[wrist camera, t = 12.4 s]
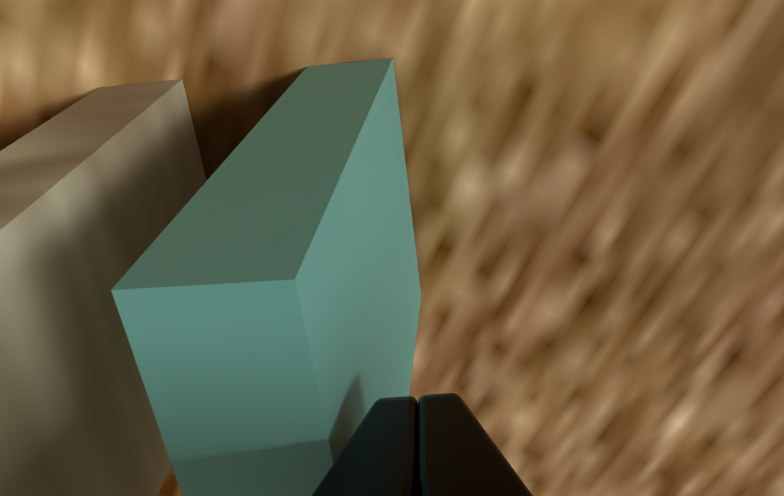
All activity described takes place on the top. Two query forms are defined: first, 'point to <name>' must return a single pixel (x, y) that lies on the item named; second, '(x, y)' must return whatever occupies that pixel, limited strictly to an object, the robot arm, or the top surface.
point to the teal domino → (282, 292)
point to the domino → (85, 288)
